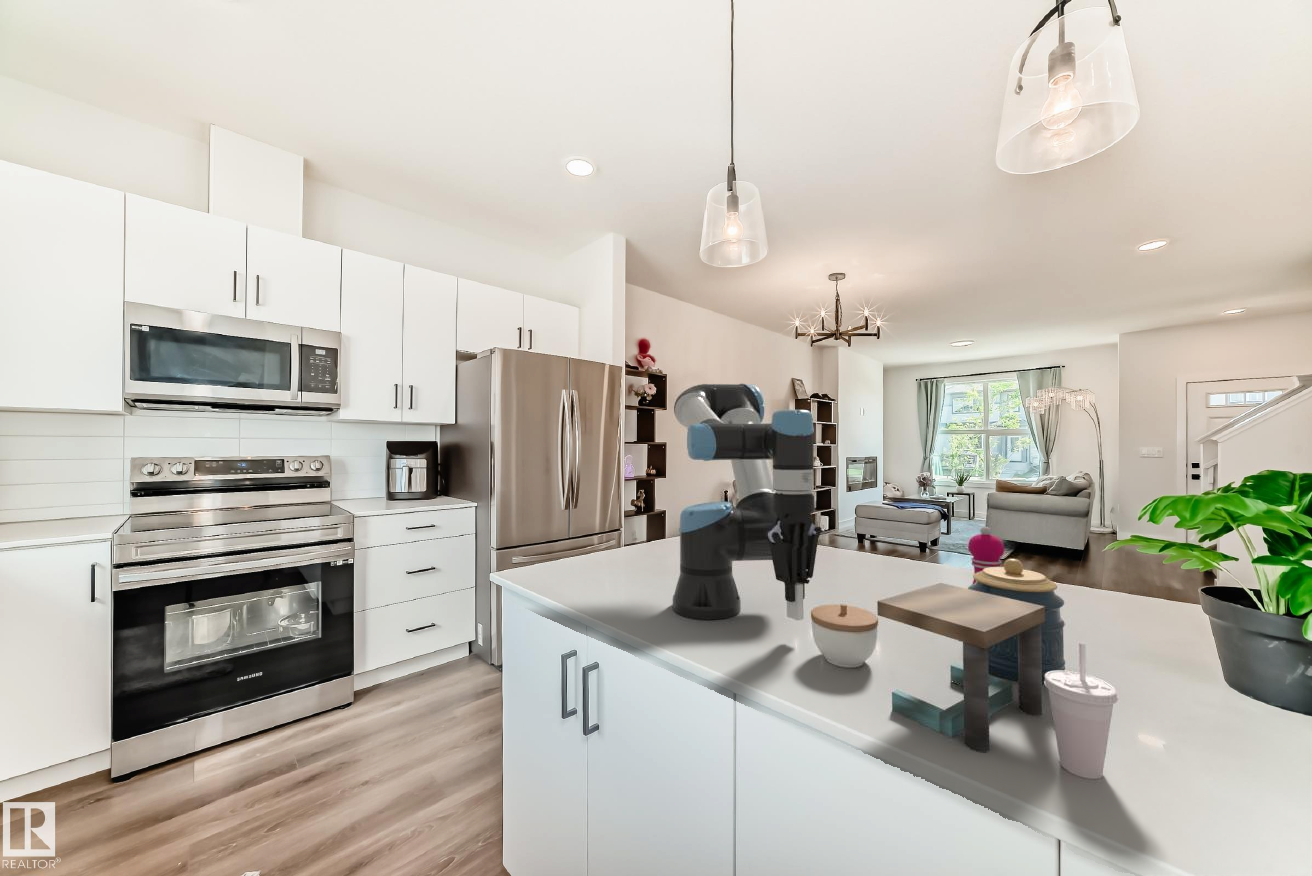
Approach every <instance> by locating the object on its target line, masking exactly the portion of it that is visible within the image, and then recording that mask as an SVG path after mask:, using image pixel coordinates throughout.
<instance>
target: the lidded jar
mask: <svg viewBox="0 0 1312 876" xmlns="http://www.w3.org/2000/svg"><path fill="white" fill-rule="evenodd" d="M810 619H811V631H812V636H813V640H814V643H815V646H816V648H817V649H818V651H819V652H820V653H821V654H822V656H823V657H824V658H825V660H826V661H827V662H828V663H830V664H832V665H834V666H837V667H841V668H846V669H847V668H848V669H849V668H851V669H853V668H860V667H861V666H863V665H864V663H865V662H866V661H867V660H868V659H869V658H871V657H872V655H873V653H874V651H875V649H876V646H877V639H878V626H879V618H878V615H876V614H875V613H873V612H871V611H870V610H867V609H865V608H861V607H858V606H852V605H848V604H846V603H840V604H824V605H823V604H822V605H819V606H816V607H814V608H812V609H811V611H810Z"/></svg>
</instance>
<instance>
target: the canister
mask: <svg viewBox="0 0 1312 876" xmlns="http://www.w3.org/2000/svg"><path fill="white" fill-rule="evenodd" d="M972 577H973V580H974V579H975V580H976V583H975V584H973V583H972V584H973V585H972V584H971V585H970V586H969V585H968V587H967V589H970V590H974V591H979V592H983V593H988V594H992V595H997V596H1001V597H1005V598H1010V599H1014V600H1019V601H1023V602H1027V603H1032V604H1036V605H1041V606H1045V622H1042V623H1041V656H1042V684H1044V681H1045V674H1046V673H1047V672H1049V671H1055V670H1063V671H1066V660H1065V658H1064V657H1065V652H1064V651H1065V649H1064V646H1065V645H1064V628H1065V627H1066V622H1065V620H1063V619H1062V616H1061V609H1062V607H1064V605H1065V600H1064V599H1063V598H1062V597H1060V596H1059V595H1058V594H1056V592H1055V591H1056V590H1057V589H1058V584H1057V583H1056V582H1054V581H1052V580H1051V579H1049V578H1047V576H1046V575H1044V574H1042V573H1040V572H1038V571H1037V572H1036V571H1033V570H1028V569H1024V565H1023V563H1022V562H1021V561H1020V560H1019V559H1016V558H1008V559H1006V560H1005V561H1004V562H1003V566H1001V567H988V568H985V569H983V570H982V571H980V572H977V573H975V574H974V573H973V575H972ZM988 673H990V674H993V675H996V676H999V677H1001V678H1005V679H1009V680H1013V681H1017V682H1018V634H1016V635H1014V636H1012V637H1009V638H1007V639H1005V640H1003V641H1000V642H998V643H996V644H994V645H992V646H989V647H988Z"/></svg>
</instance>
